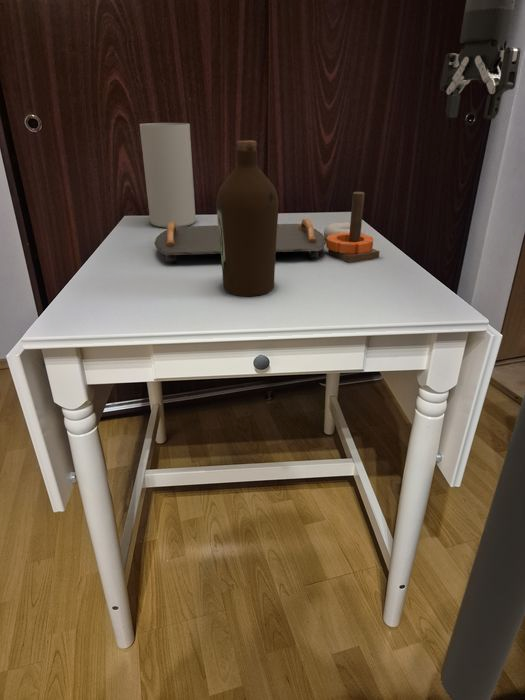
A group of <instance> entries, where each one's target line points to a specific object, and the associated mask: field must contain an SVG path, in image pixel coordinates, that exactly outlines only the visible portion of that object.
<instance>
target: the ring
mask: <svg viewBox="0 0 525 700" xmlns="http://www.w3.org/2000/svg"><path fill="white" fill-rule="evenodd" d="M325 241H326V244H325V247H326V249H330V250H332V251H335V252H339V253H350V254H355V253H358V254H359V253H365V252H370V251H372V249H373V246H374V237H372V236H370V235H367V234H361V235H360V241H359V242H349V233H347V232H345V233H336V234H331V235H328V237H327V239H326V240H325Z"/></svg>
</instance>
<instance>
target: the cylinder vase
mask: <svg viewBox="0 0 525 700" xmlns="http://www.w3.org/2000/svg"><path fill="white" fill-rule="evenodd" d="M139 131H140V141H141V150H142V156H143V157H142V158H143V167H144V168H143V169H144V178H145V188H146V197H147V206H148V215H149V222H150V224H151V225H153V226H154V227H157V228H158V227H159V228H165V229H168V224H169V223H170V222H175V223H176V227H178V226H192V225H193V224H195V222H196V205H195V189H194V188H195V187H194V174H193V173H194V172H193V158H192V140H191V125H190V123H187V122H186V123H185V122H151V123H148V122H147V123H146V122H145V123H139Z"/></svg>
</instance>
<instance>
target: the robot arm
mask: <svg viewBox="0 0 525 700" xmlns="http://www.w3.org/2000/svg"><path fill="white" fill-rule="evenodd" d="M515 4H516V0H466V1H465V6H464V12H463V19H462V24H461V32H460V37H459V43H460V44H461V50H460V52H459V53H453V52H451V53H446V54H445V57H444V62H443V66H442V73H441V79H440V84H439V91H441V92H444V93H446V95H447V98H446V105H445V116H446V118H447V119H452V118H453V119H455V118H457V117H458V115H459V108H460V103H461V97H462V95H461V92H462V91H463V90H464V88H465V87H466V86H467V85H469V83H470V82H471V81H477V80H482V82H483V83H484V84H485V85H486V87H487V91H488V93H489V94H487V96H486V101H485V108H484V112H483V119H485V120H494V119H495V118H496V117H497V116H498V114H499V112H500V106H501V101H502V97H503V94H505V92H509V91H510V90H514V88H515V87H516V83H517V76H518V71H519V66H520V65H519V64H520V58H521V52H522V51H521V50H522V49H521V48H520V47H511V46H509V47H505V43H506V42H507V41H508V39H509V34H510V30H511V24H512V19H513V14H514V8H515ZM500 64H501V69H500V66H499V65H500Z"/></svg>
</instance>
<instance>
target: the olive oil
mask: <svg viewBox="0 0 525 700" xmlns="http://www.w3.org/2000/svg"><path fill="white" fill-rule="evenodd" d="M257 144H258V143H257V140H252V139H251V140H249V139H248V140H246V139H244V140H237V141H236V146H237V150H236V166H235V168H234V169H233V170H232V172H231V173H230V174H229V175H228V177H226V179H225V180H224V181H223V183H221V185H220V186H219V189H218V193H217V196H216V205H215V206H216V216H217V226H218V228H219V238H220V250H221V254H220V258H221V271H222V286H223V290H224V291H225V292H226V293H229V294H231V295H234V296H240V297H257V296H262V295H266V294H269V293H270V292H272V291H273V290H274V288H275V274H276V273H275V271H276V253H277V252H276V238H277V224H279V222H278V221H279V207H280V206H279V204H280V201H279V197H278V196H279V195H278V193H277V188H276V187H275V186H274V184H273V183H272V182H271V181H270V179H269V178H268V177H267V176H266V174H265V173H264V172H263V171H262V170H261V168H259V166H258V149H257Z"/></svg>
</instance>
